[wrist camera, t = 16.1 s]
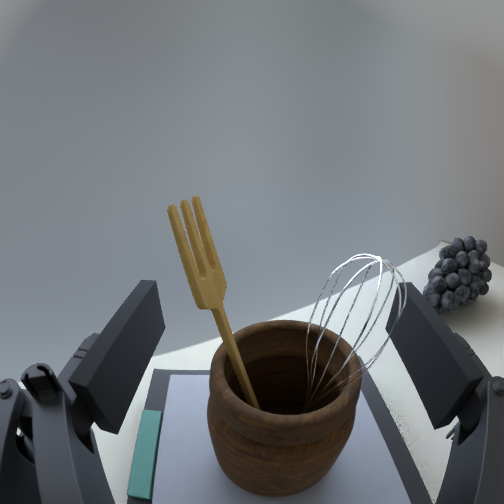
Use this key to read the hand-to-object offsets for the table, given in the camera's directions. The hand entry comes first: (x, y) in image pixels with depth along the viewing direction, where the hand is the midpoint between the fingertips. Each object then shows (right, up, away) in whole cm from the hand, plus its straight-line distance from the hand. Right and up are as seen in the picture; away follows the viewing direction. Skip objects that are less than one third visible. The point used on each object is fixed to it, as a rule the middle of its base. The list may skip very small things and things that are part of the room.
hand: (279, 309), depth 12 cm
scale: (0, -10, 0) cm, 10 cm away
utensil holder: (0, -8, -1) cm, 8 cm away
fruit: (+24, -4, +16) cm, 29 cm away
